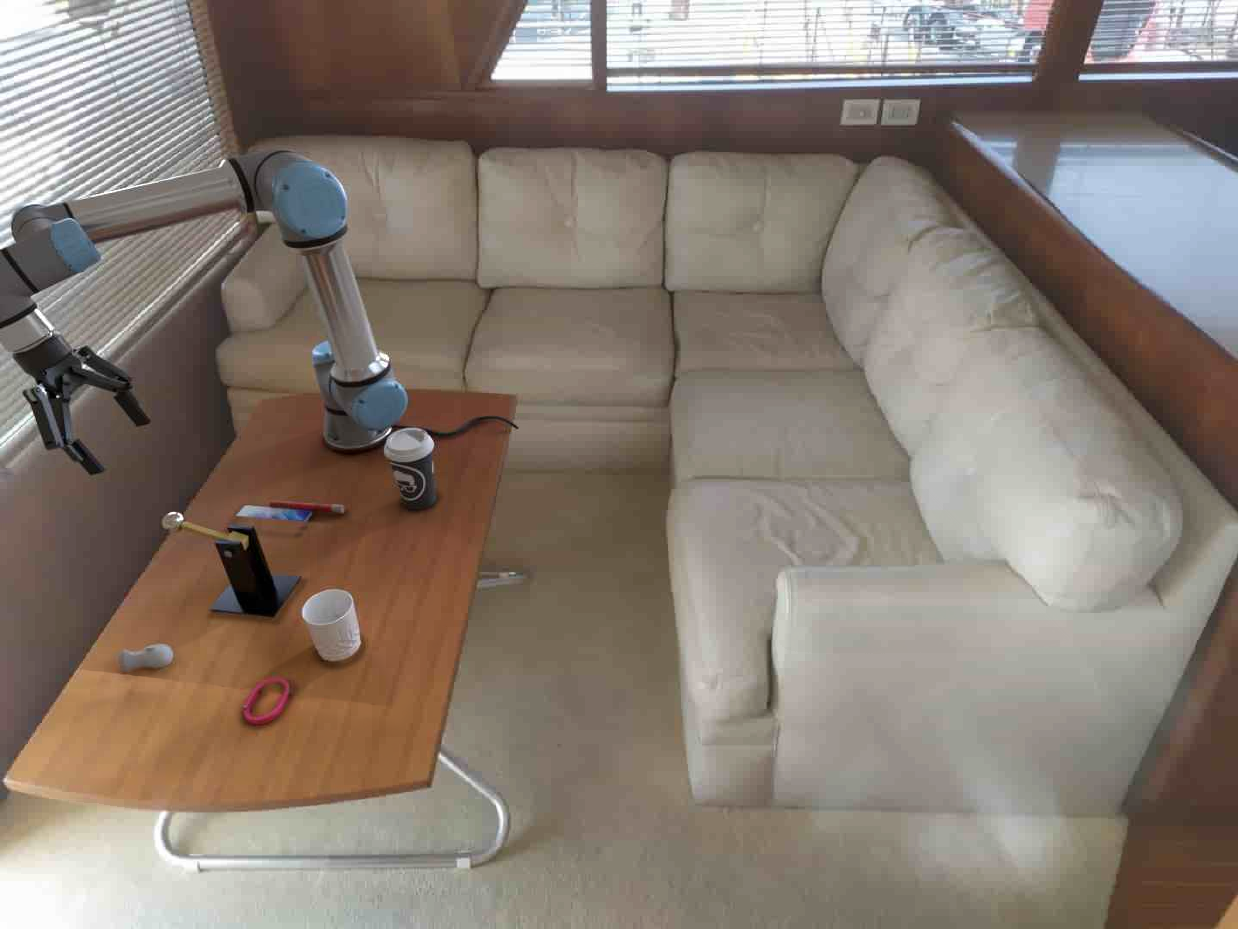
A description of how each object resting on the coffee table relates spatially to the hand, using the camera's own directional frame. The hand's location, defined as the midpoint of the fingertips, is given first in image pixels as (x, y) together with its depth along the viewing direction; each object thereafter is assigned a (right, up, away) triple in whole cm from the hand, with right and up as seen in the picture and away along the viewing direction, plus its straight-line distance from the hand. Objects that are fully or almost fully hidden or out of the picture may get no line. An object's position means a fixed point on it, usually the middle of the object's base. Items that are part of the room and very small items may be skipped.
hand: (122, 447), depth 145 cm
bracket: (+21, -27, +6) cm, 34 cm away
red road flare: (+22, -11, +26) cm, 36 cm away
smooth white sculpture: (+8, -36, -6) cm, 37 cm away
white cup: (+39, -34, -4) cm, 51 cm away
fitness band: (+30, -40, -13) cm, 52 cm away
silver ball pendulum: (+14, -16, 0) cm, 21 cm away
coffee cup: (+44, -10, +28) cm, 53 cm away
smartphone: (+16, -14, +24) cm, 32 cm away
